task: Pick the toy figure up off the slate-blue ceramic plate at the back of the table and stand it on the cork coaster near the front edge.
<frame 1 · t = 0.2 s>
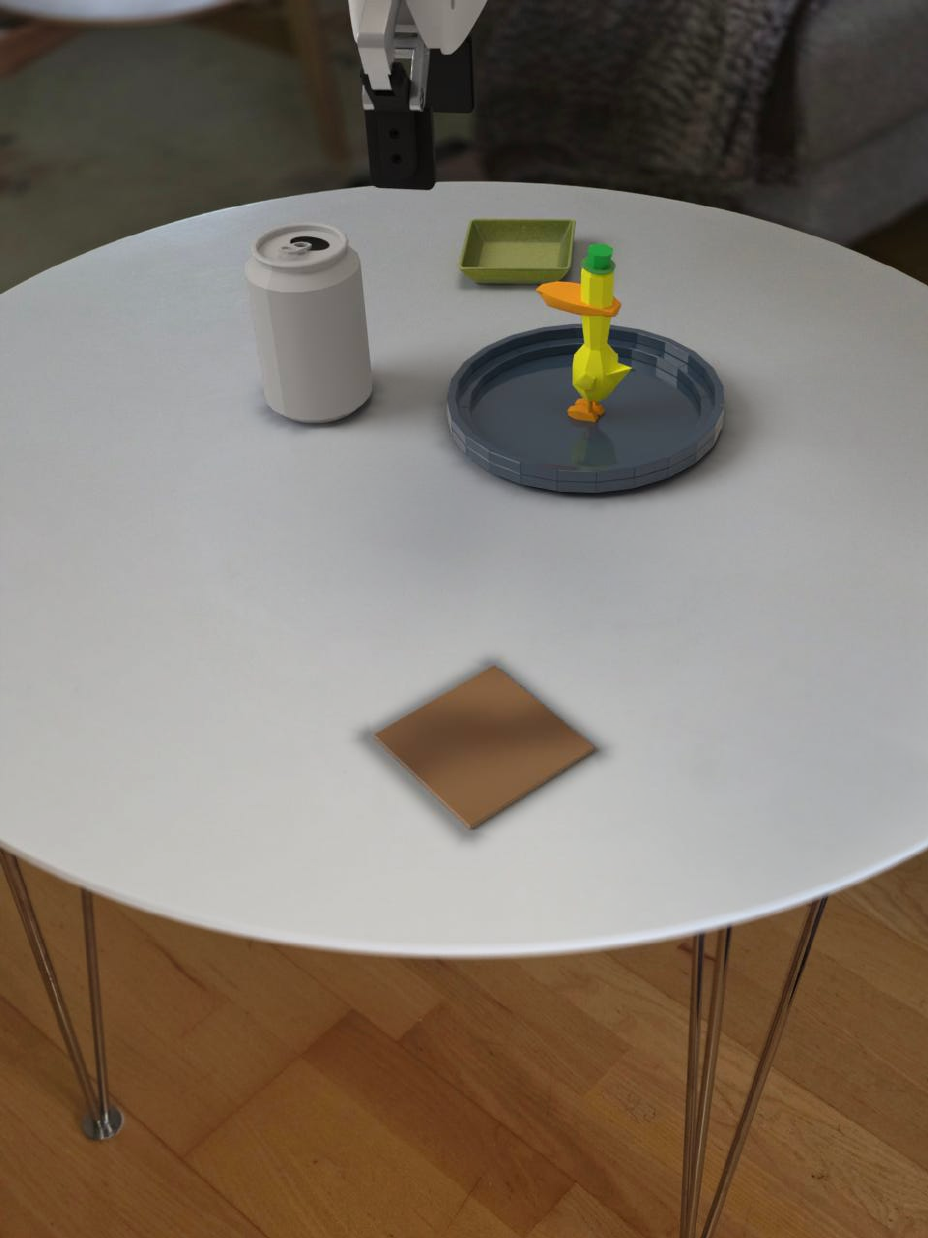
hand: (426, 146, 70), 23 cm above the table, tool pointing down, fingers open, 9 cm apart
toy figure: (584, 414, 91), resting on plate
coaster: (483, 746, 70), on the table
plate: (584, 420, 92), on the table
can: (320, 403, 95), on the table
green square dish: (518, 268, 109), on the table
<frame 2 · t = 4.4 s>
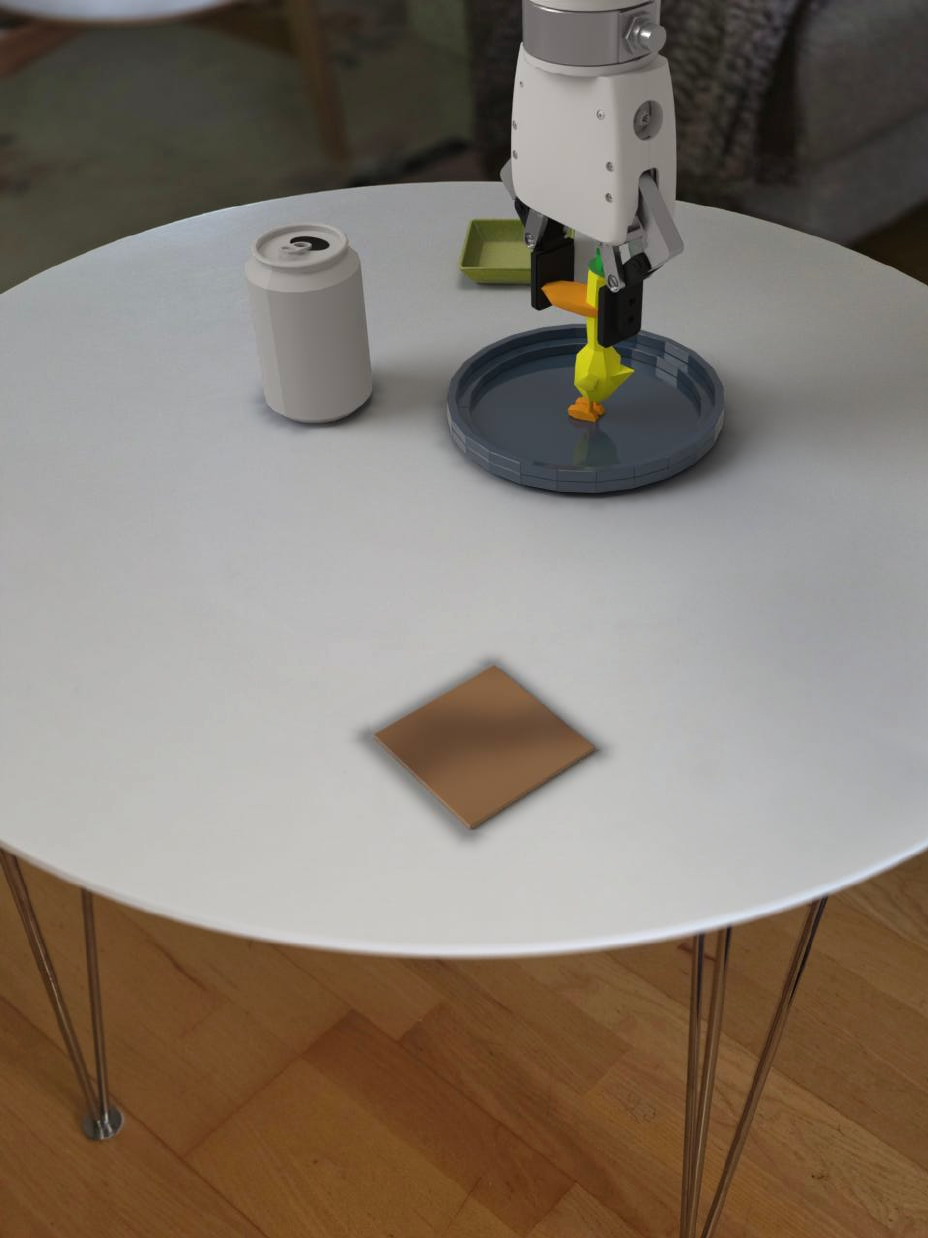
hand: (585, 317, 87), 8 cm above the table, tool pointing down, fingers closed on toy figure, 5 cm apart
toy figure: (584, 413, 91), resting on plate, touching gripper
everything else where it was.
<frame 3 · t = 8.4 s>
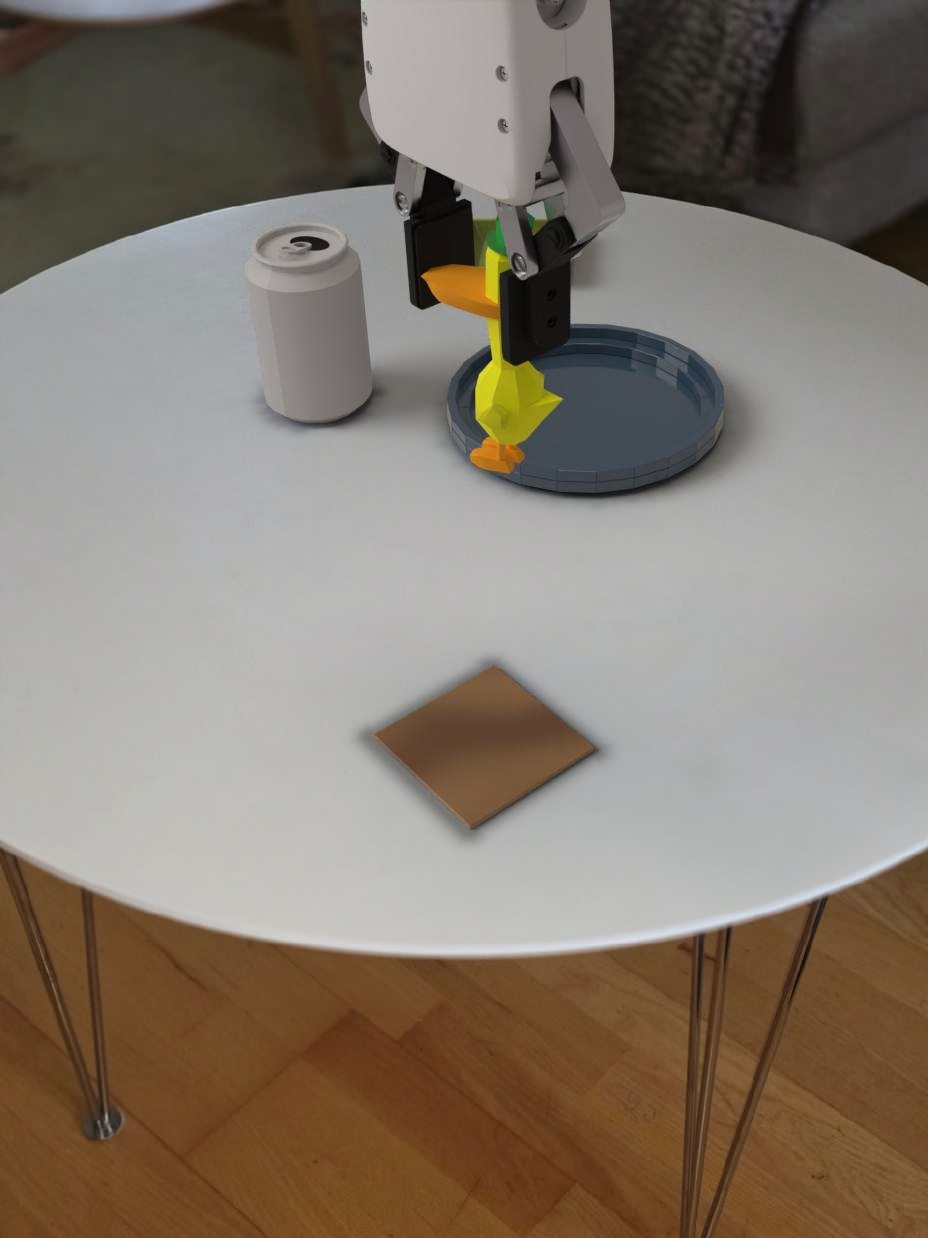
hand: (488, 320, 58), 22 cm above the table, tool pointing down, fingers closed on toy figure, 5 cm apart
toy figure: (494, 461, 62), point 15 cm above the table, touching gripper
everything else where it was.
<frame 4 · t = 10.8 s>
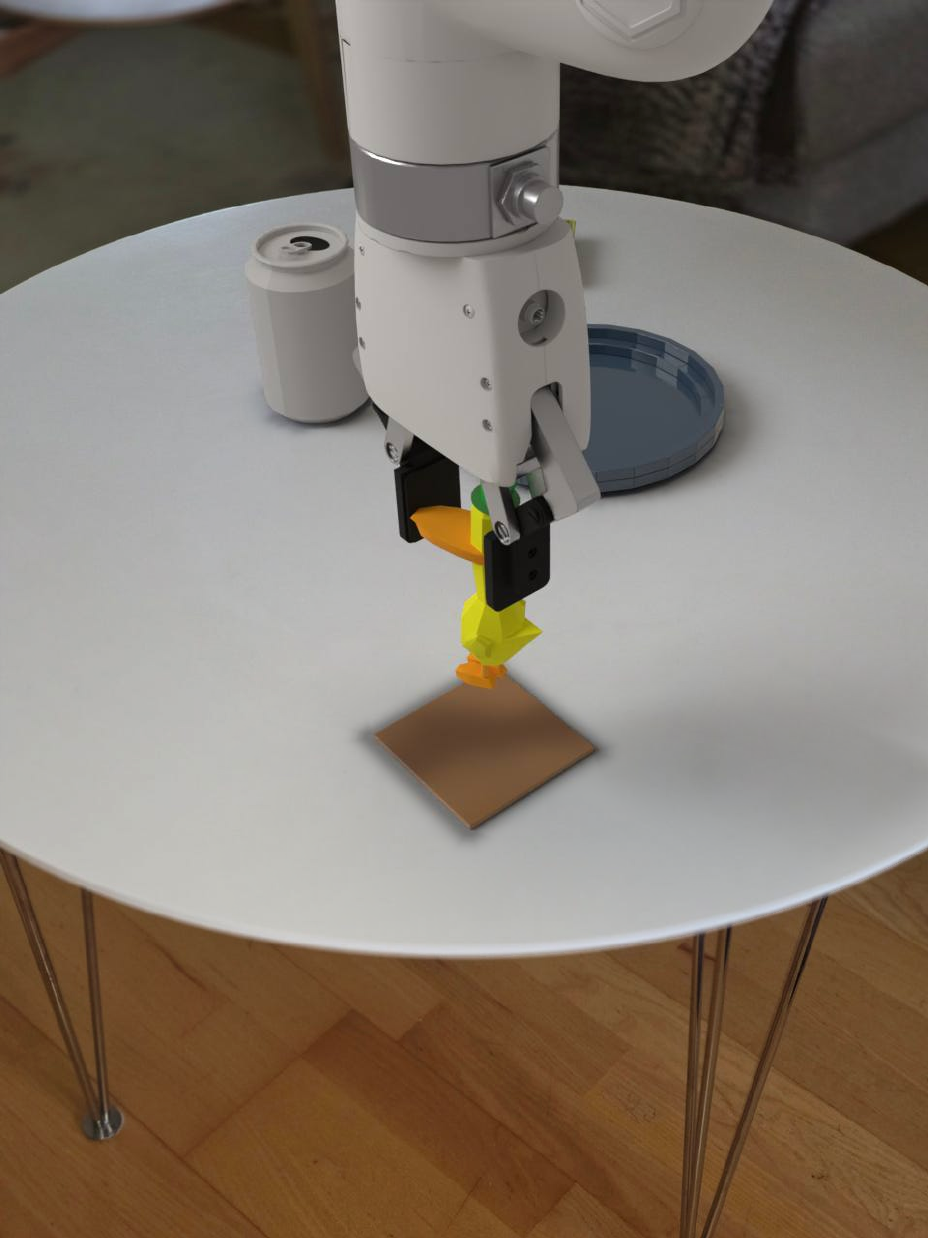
hand: (473, 558, 62), 12 cm above the table, tool pointing down, fingers closed on toy figure, 5 cm apart
toy figure: (479, 674, 66), point 5 cm above the table, touching gripper
everything else where it was.
when the fingers open (7 cm above the table, at t = 12.5 s): toy figure stays where it is, resting on coaster.
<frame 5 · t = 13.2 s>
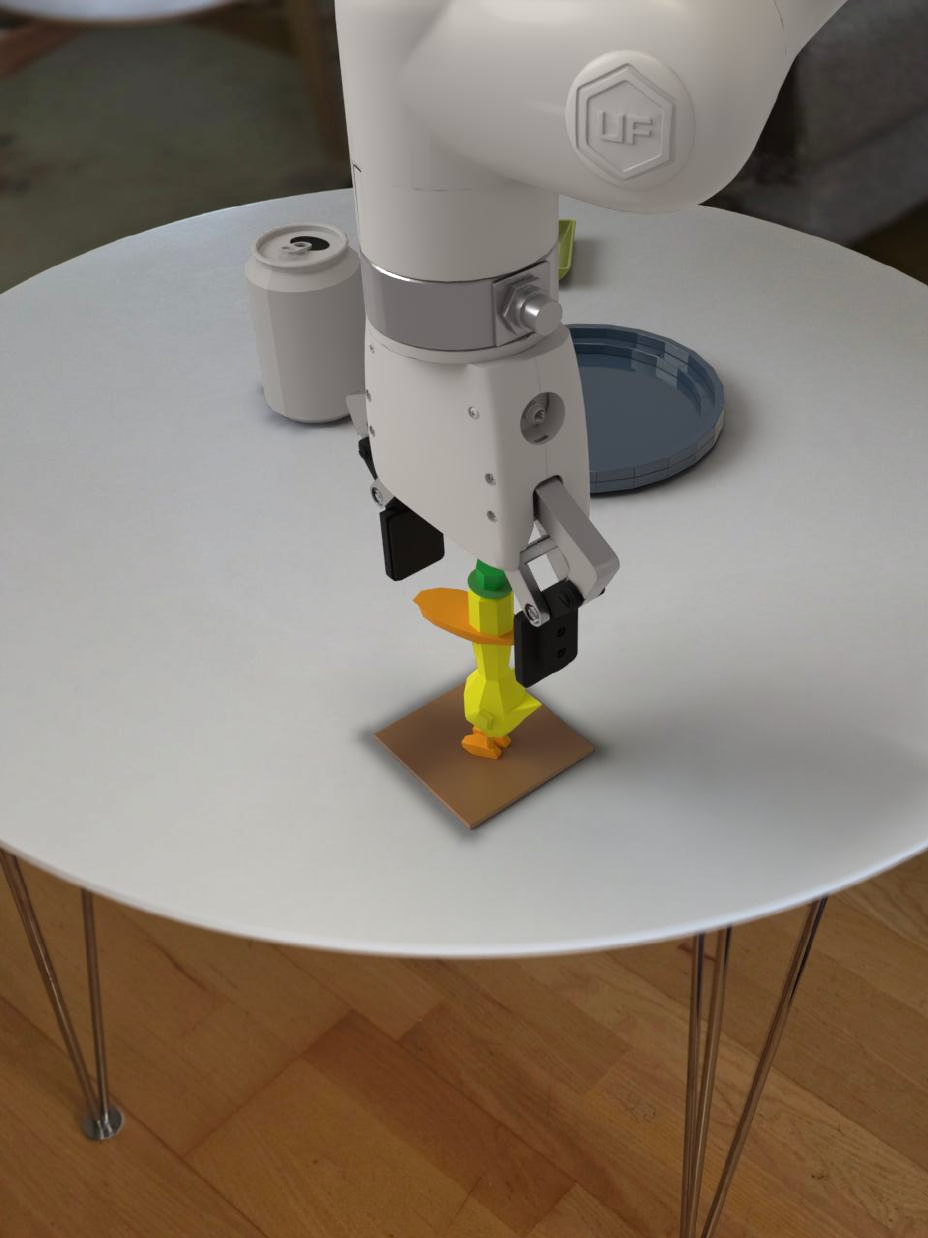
hand: (478, 617, 64), 9 cm above the table, tool pointing down, fingers open, 9 cm apart
toy figure: (484, 745, 69), resting on coaster
everything else where it was.
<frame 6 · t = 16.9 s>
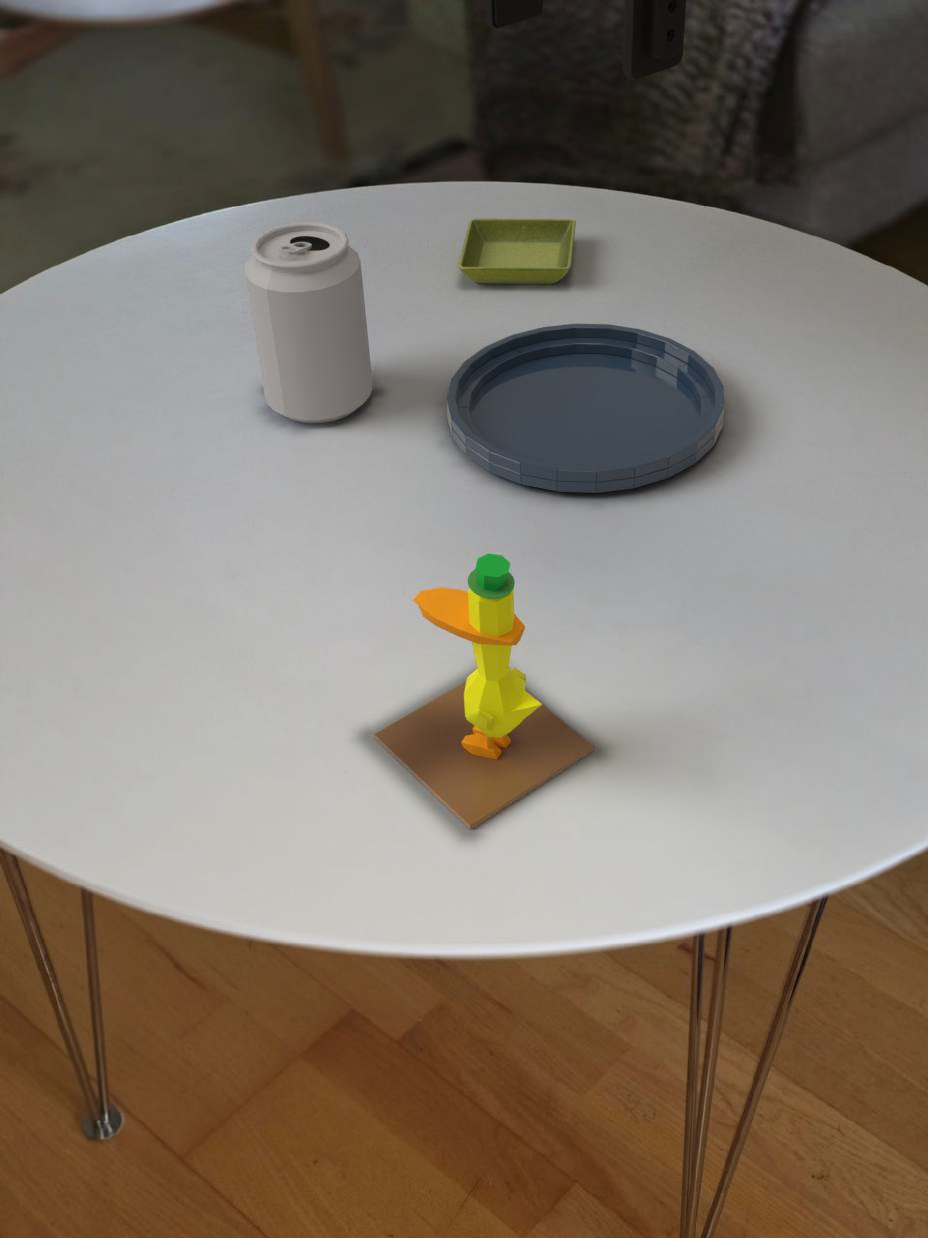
hand: (580, 44, 65), 28 cm above the table, tool pointing down, fingers open, 9 cm apart
nothing on the table moved.
at the end: toy figure inside the target area on the coaster (0.1 cm from its centre), point 0.2 cm above the coaster's base; toy figure tilted 0°; toy figure touching coaster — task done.
